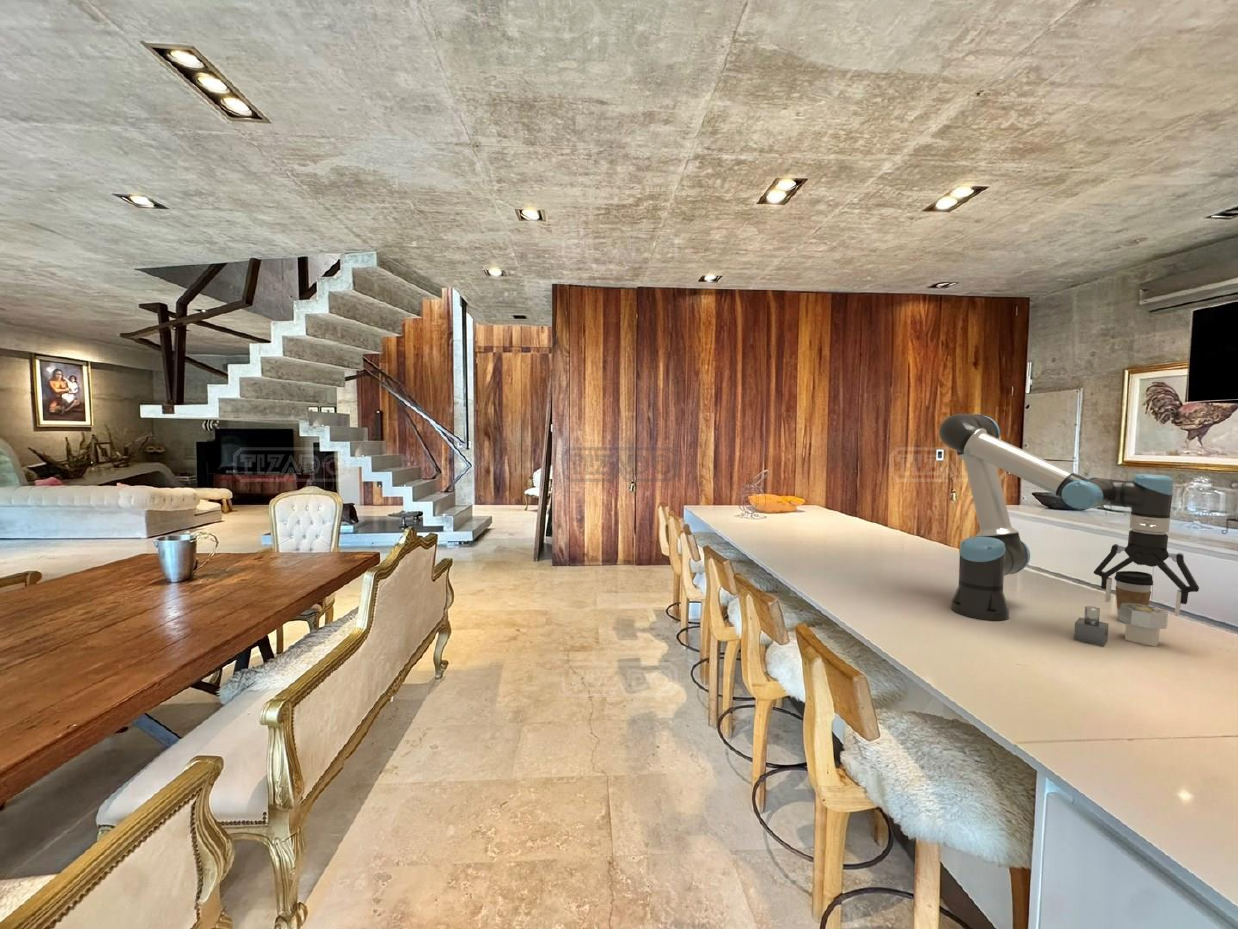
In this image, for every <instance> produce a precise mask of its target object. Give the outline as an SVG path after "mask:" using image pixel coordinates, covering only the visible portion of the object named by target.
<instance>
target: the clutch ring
mask: <svg viewBox="0 0 1238 929" xmlns="http://www.w3.org/2000/svg"><path fill="white" fill-rule="evenodd" d="M1136 607H1146V608H1150V609H1152V611H1144V610H1139V609H1136ZM1168 619H1169V611H1168V610H1165V609H1163V608H1160V607H1157V606H1152V605H1149V606H1148V605H1143V604H1137V603H1122V604H1121V605H1120V615H1119V620H1121V621H1123V622H1122V623H1124V622H1126V623H1128V624H1131V625H1135V626H1140V627H1145V628H1150V629H1160V630H1167V627H1168ZM1119 620H1118V621H1119ZM1121 621H1120V622H1121ZM1126 623H1125V624H1126Z"/></svg>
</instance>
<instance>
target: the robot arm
mask: <svg viewBox="0 0 1238 929" xmlns="http://www.w3.org/2000/svg"><path fill="white" fill-rule="evenodd" d="M1000 435H1001V431H1000V427H999V425H998V423H997V422H996V421H995V420H994V419H992V418H991V417H989V416H986V415H984V414H978V413H977V414H976V413H975V414H966V413H958V414H957V413H956V414H953V415H950V416H947V418H945V419H944V420H943V421H942V422H941V424H940V425H939V429H938V436H939V439H940V441H941V442H942V443H943V444H944V445H945V446H946V447H948V448H951V449H952V450H955V451H956V454H957V457H958V458H959V459H961V460H963V462H964V466H965V467H964V468H965V470H966V473H967V479H968V484H969V487H970V491H971V496H972V501H973V504H974V508H975V509H974V510H975V512H976V518H977V521H978V525H979V531H978V532H977V534H976V535H975V536H971V537H966V538H964V539H962V541H961V542H960V547H959V549H958V550H959V551H958V553H959V563H958V568H959V569H958V586H957V588H956V591H955V593H954V595H953V598H952V599H951V604H950V605H951V606H950V608H951V610H953V611H954V612H955V613H957V614H960V615H962V616H966V617H970V618H972V619H978V620H984V621H985V620H986V621H987V620H988V621H1006V620H1008V619H1009V618H1010V609H1009V608H1010V607H1009V605H1008V603H1007V600H1006V597H1005V593H1004V581H1005V580H1004V578H1005V577H1004V576H1008V575H1014V574H1018V573H1019V572H1021V571H1022V570H1023V569H1025V568H1026V567H1027V566H1028V565H1029V562H1030V559H1031V552H1030V549H1029V547H1028V546H1027V544H1026V543H1025V542H1024V541H1022V540H1021V537H1020V533H1019V531H1018V530H1017V529H1016V528H1014V527H1012V524H1011V521H1010V520H1011V519H1010V516H1009V511H1008V508H1007V504H1006V500H1005V499H1006V498H1005V496H1004V495H1005V494H1004V491H1003V488H1002V483H1001V478H1000V474H999V471H998V468H999V469H1002V470H1003V471H1005V472H1007V473H1010V474H1011V475H1014V476H1015V477H1017V478H1020V479H1022V480H1024V481H1025V482H1028V483H1029V484H1031V485H1034V486H1037V487H1038V488H1040V489H1042V490H1044V491H1046V492H1049V493H1051V494H1053V495H1055V496H1057V497H1059V498H1060V499H1062V500H1063V501H1064V504H1065V503H1066V505H1068V506H1069V507H1072V508H1073V509H1080V510H1089V509H1093V508H1096V507H1097V508H1098V507H1103V506H1110V507H1111V506H1112V507H1120V508H1121V507H1122V508H1130V517H1129V528H1130V529H1131V530H1129V531H1128V540H1127V545H1126V546H1123V545H1119V544H1117V543H1115V544H1113V545H1112V546H1111V549H1110V551H1109V553H1108V554H1107V556H1105V558H1104V559H1103V560H1102V561H1101V563H1100V564H1099V565H1098V566H1097V567H1096V568H1095V569H1094V570H1093V574H1094V575H1097V576H1099V577H1101V584H1100V585H1101V586H1100V587H1101V589H1102V590H1105V596H1104V602H1105V603H1109V602H1110V601H1111V595H1112V584H1113V577H1111V576H1113V575H1114V574H1116V572H1118V571H1120V570H1122V569H1123V568H1125V567H1127V566H1128V565H1130V564H1132V563H1134V564H1136V565H1137V566H1138V565H1139V566H1147V567H1158V568H1159V569H1160V570H1161V571H1162V572H1163V573H1164V574H1165V575H1166V577H1167V578H1169V579H1170V580H1171V582H1172V583H1173V584H1175V586H1177V588H1178V589H1177V591H1176V598H1175V599H1176V600H1175V610H1174V616H1175V617H1180V614H1181V605H1187V604H1188V599H1189V593H1192V592H1195V593H1196V592H1199V590H1200V586H1199V585H1198V583H1197V581H1196V580H1195V577H1194V576H1193V575H1192V573H1191V571H1190V570H1189V567H1188V566H1187V564H1186V562H1185V556H1184V553H1182V552H1177V553H1174V552H1172V553H1169V551H1168V543H1169V542H1168V541H1169V535H1168V534H1167V533H1169V531H1170V523H1171V511H1172V509H1171V508H1172V502H1173V495H1174V491H1173V489H1174V488H1173V486H1174V485H1173V484H1174V483H1173V482H1174V480H1173V478H1172V477H1171V476H1168V475H1162V474H1142V473H1139V474H1135V475H1134V477H1133V479H1132V480H1122V479H1111V478H1100V477H1084V476H1082V475H1079V474H1077V473H1075V472H1073V471H1071V470H1069V469H1066V468H1064V467H1062V466H1059V465H1058V464H1055V463H1053V462H1051V461H1048V460H1046V459H1044V458H1042V457H1040V456H1038V455H1035V454H1033V453H1031V452H1029V451H1026V450H1024V449H1022V448H1020V447H1018V446H1015V445H1013V444H1011V443H1008V442H1006V441H1004V440H1002V439H999V438H1000ZM1122 552H1124V553H1125V554H1126V555H1127V556H1128V557H1127V558H1125V559H1124V560H1122V561H1121V562H1119V563H1118V564H1117V565H1114V566H1113V567H1111V568H1110V569H1108V570H1107V571H1103V570H1104V569H1105V568H1106V567H1107V566H1108V564H1109V563H1110V562H1111V561H1112V560H1113V559H1114V557H1115V556H1117V554H1121V553H1122ZM1167 559H1171V561H1172V562H1176V564H1177V567H1178V568H1179V569H1180V571H1181V572H1180V573H1181V574H1182V576H1184V579H1185V581H1186V583H1187V584H1188V585H1186V584H1185V583H1184V582H1183V580H1181V579H1180V578H1179V576H1178V575H1177V573H1176V574H1175V572H1174V571H1173V570H1172V569H1171V568H1170V567H1169V566H1168V564H1166V562H1165V561H1166V560H1167Z"/></svg>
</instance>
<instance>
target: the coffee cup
mask: <svg viewBox="0 0 1238 929" xmlns="http://www.w3.org/2000/svg"><path fill="white" fill-rule="evenodd" d="M1114 581H1115V597H1116V598H1115V599H1116V608H1117V609H1116V611H1117V615H1116V616H1117V620H1118V622H1122V623H1124V624H1126V622H1123V621H1121V620H1119V615H1120V605H1121V604H1122V603H1137V604H1143V605H1148V606H1150V604H1149V603H1150V601H1151V594H1152V591H1151V589H1152V586H1154V581H1153V575H1152V574H1151V573H1148V572H1144V571H1135V570H1123V571H1122V570H1121V571H1120V570H1119V571H1117V572H1115V575H1114Z"/></svg>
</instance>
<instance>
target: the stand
mask: <svg viewBox="0 0 1238 929" xmlns="http://www.w3.org/2000/svg"><path fill="white" fill-rule="evenodd" d="M1100 613H1101V608H1099V607H1096V606H1093V605H1085V606H1084V617H1080V616H1079V617H1078V618H1077V619H1076V621H1075V622H1074V635H1073V636H1074V638H1073V640H1074V641H1077V642H1082V643H1084V644H1089V645H1090V644H1091V645H1093V646H1097V647H1098V646H1099V647H1103V648H1104V647H1105V646H1106V644H1107V643H1108V640H1109V639H1108V638H1109V623H1108V622H1103V621H1100V617H1101V616H1100Z"/></svg>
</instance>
